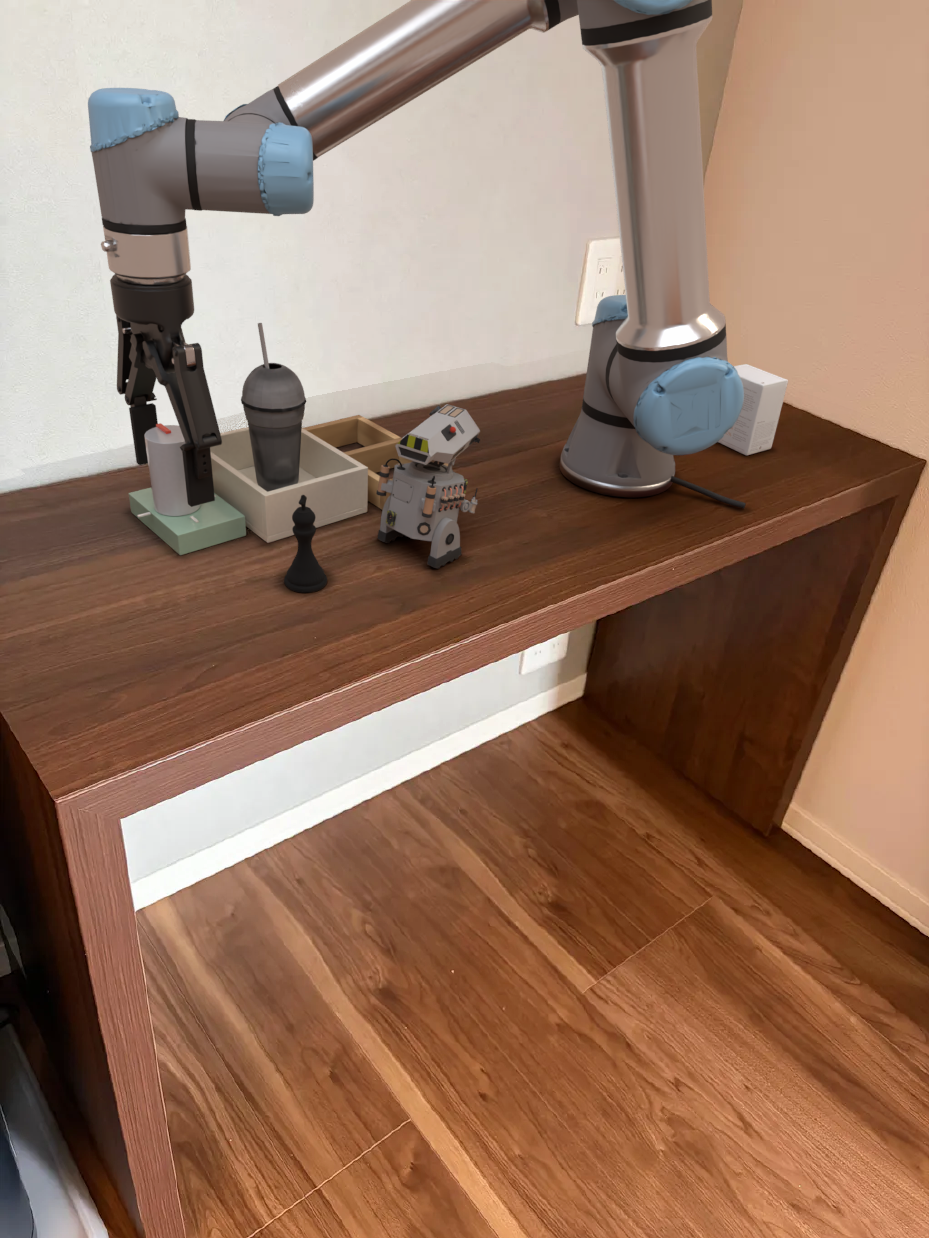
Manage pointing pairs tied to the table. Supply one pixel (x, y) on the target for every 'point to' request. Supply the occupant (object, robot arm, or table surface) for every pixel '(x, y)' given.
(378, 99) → the robot arm
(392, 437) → the wooden compartment tray
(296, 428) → the beverage cup
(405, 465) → the figurine
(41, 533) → the table surface
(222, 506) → the green dial base plate
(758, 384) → the small box
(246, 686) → the table surface
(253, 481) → the cream open storage tray
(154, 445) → the tap knob
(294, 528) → the chess piece
